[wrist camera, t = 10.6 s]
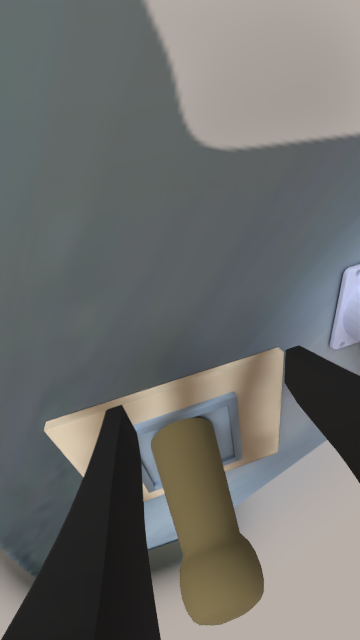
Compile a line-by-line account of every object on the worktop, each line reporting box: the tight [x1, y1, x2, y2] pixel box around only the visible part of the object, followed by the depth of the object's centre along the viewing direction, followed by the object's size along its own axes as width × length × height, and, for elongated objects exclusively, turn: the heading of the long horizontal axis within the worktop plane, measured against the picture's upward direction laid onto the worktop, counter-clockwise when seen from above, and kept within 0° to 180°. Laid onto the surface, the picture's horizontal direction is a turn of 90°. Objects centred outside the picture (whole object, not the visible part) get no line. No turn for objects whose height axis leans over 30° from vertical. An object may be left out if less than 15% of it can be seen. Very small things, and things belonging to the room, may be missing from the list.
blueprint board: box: [44, 347, 284, 502], centre depth 24 cm, size 20×16×1 cm
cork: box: [151, 418, 264, 625], centre depth 18 cm, size 6×6×11 cm
